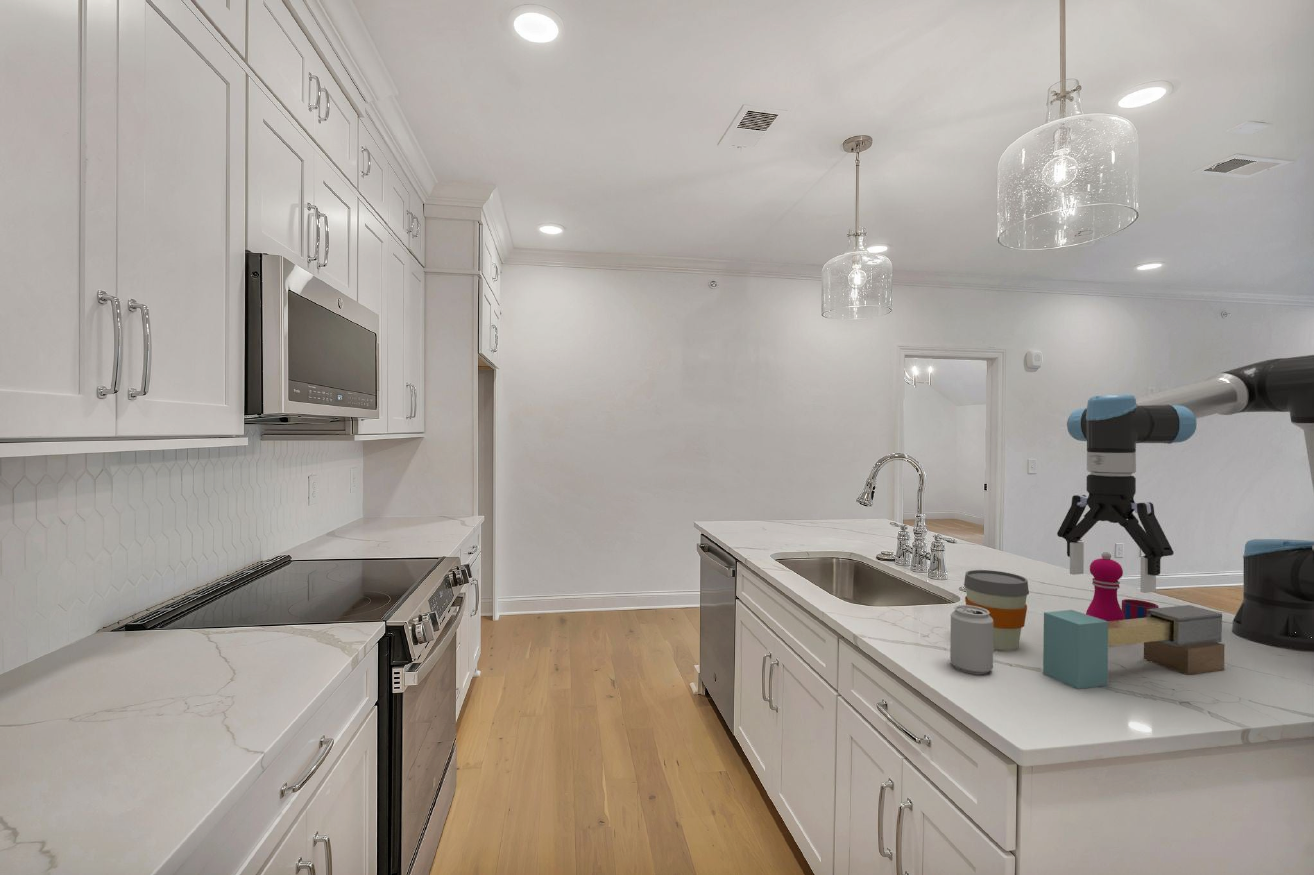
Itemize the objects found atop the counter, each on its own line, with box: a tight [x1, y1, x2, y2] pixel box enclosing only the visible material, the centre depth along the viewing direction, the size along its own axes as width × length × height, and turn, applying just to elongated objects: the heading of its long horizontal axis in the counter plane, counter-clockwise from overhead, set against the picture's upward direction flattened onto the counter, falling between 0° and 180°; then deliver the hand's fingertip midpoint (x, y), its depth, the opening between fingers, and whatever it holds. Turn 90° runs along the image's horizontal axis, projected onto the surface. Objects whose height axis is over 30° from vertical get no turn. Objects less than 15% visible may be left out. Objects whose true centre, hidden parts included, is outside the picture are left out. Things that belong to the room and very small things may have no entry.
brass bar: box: [1108, 616, 1174, 648], centre depth 113 cm, size 28×3×3 cm, turn 105°
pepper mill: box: [1085, 551, 1125, 621], centre depth 131 cm, size 7×7×20 cm
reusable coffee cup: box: [963, 569, 1030, 651], centre depth 128 cm, size 13×12×15 cm
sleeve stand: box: [1143, 604, 1225, 676], centre depth 116 cm, size 12×8×11 cm, turn 105°
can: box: [949, 604, 994, 675], centre depth 114 cm, size 8×8×12 cm
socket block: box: [1042, 609, 1109, 690], centre depth 109 cm, size 7×7×12 cm
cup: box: [1121, 598, 1160, 620], centre depth 134 cm, size 7×10×7 cm
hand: (1110, 582), depth 111 cm, fingers open, 13 cm apart
